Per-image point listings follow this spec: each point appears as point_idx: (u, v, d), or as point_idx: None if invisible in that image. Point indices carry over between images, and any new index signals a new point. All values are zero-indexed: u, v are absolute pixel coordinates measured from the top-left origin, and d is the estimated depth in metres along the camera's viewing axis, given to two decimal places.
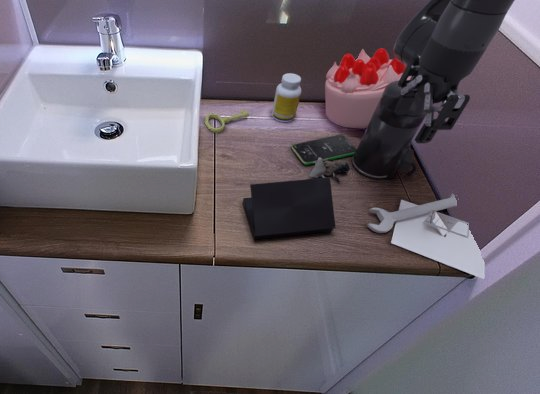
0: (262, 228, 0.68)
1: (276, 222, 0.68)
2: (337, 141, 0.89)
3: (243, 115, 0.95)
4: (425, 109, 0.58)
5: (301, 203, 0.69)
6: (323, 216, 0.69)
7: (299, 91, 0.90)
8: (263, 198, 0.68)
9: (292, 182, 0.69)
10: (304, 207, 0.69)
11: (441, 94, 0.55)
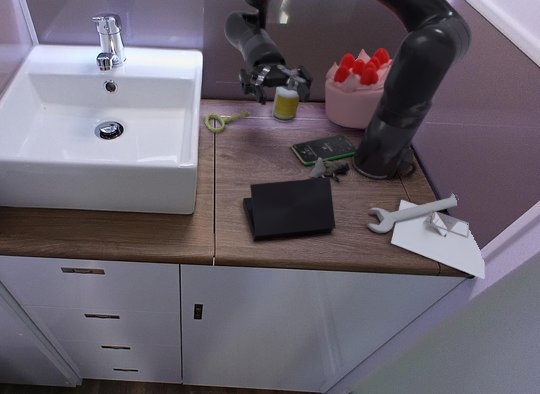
0: (262, 228, 0.68)
1: (276, 222, 0.68)
2: (337, 141, 0.89)
3: (243, 115, 0.95)
4: None
5: (301, 203, 0.69)
6: (323, 216, 0.69)
7: None
8: (263, 198, 0.68)
9: (292, 182, 0.69)
10: (304, 207, 0.69)
11: (253, 80, 0.74)
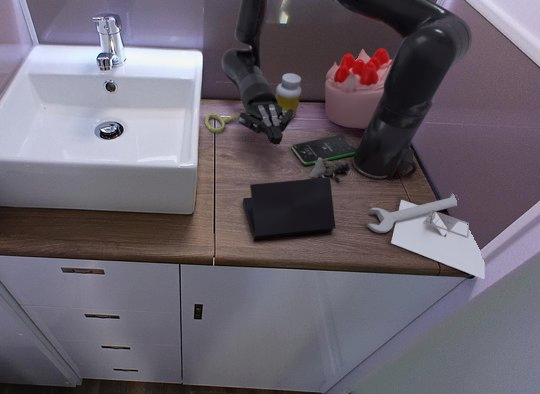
0: (262, 228, 0.68)
1: (276, 222, 0.68)
2: (337, 141, 0.89)
3: None
4: None
5: (301, 203, 0.69)
6: (323, 216, 0.69)
7: (299, 91, 0.90)
8: (263, 198, 0.68)
9: (292, 182, 0.69)
10: (304, 207, 0.69)
11: None
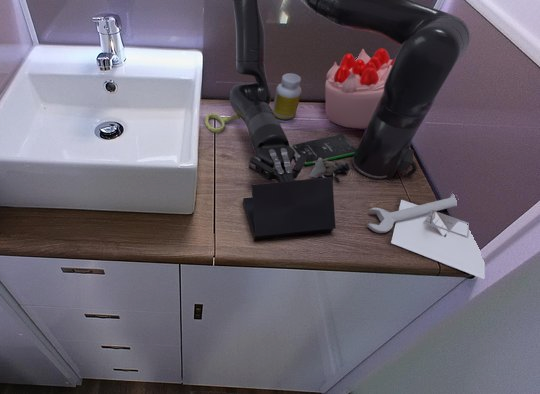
0: (262, 228, 0.68)
1: (277, 222, 0.68)
2: (337, 141, 0.89)
3: None
4: None
5: (303, 203, 0.68)
6: (324, 216, 0.69)
7: (299, 91, 0.90)
8: (264, 198, 0.68)
9: (294, 182, 0.68)
10: (305, 207, 0.68)
11: None
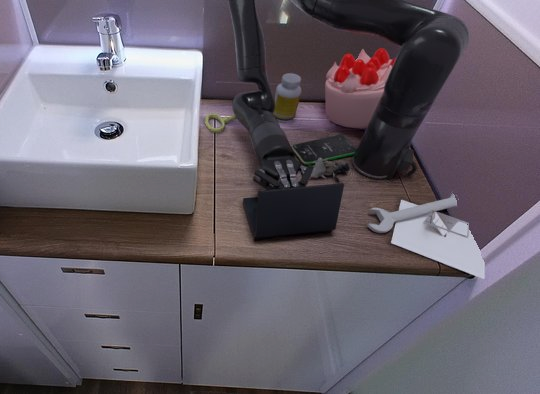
0: (263, 231, 0.67)
1: (279, 226, 0.67)
2: (337, 141, 0.89)
3: None
4: None
5: (308, 208, 0.66)
6: (326, 220, 0.68)
7: (299, 91, 0.90)
8: (270, 204, 0.65)
9: (303, 189, 0.64)
10: (309, 212, 0.67)
11: None
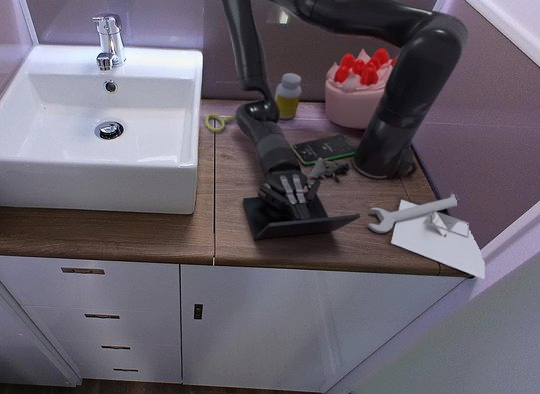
0: (264, 237, 0.67)
1: (280, 234, 0.67)
2: (337, 141, 0.89)
3: None
4: None
5: (315, 227, 0.64)
6: (329, 229, 0.67)
7: (299, 91, 0.90)
8: (277, 229, 0.62)
9: (316, 222, 0.60)
10: (315, 228, 0.65)
11: None
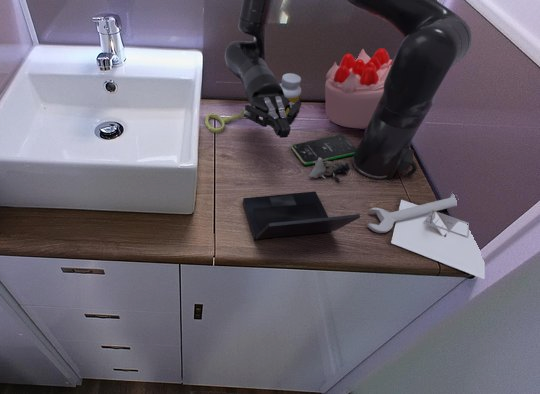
0: (264, 237, 0.67)
1: (280, 234, 0.67)
2: (337, 141, 0.89)
3: (243, 115, 0.95)
4: None
5: (315, 227, 0.64)
6: (329, 229, 0.67)
7: (299, 91, 0.90)
8: (277, 229, 0.62)
9: (316, 222, 0.60)
10: (315, 228, 0.65)
11: None
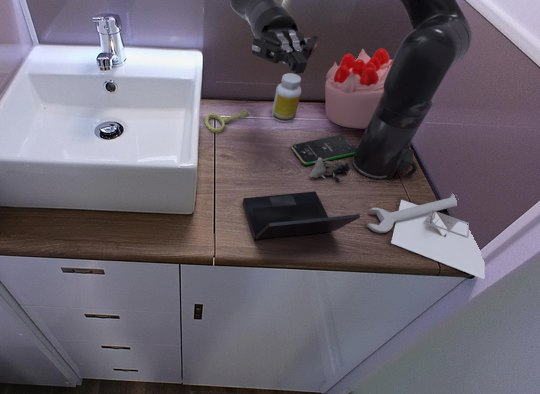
0: (264, 237, 0.67)
1: (280, 234, 0.67)
2: (337, 141, 0.89)
3: (243, 115, 0.95)
4: None
5: (315, 227, 0.64)
6: (329, 229, 0.67)
7: (299, 91, 0.90)
8: (277, 229, 0.62)
9: (316, 222, 0.60)
10: (315, 228, 0.65)
11: None
